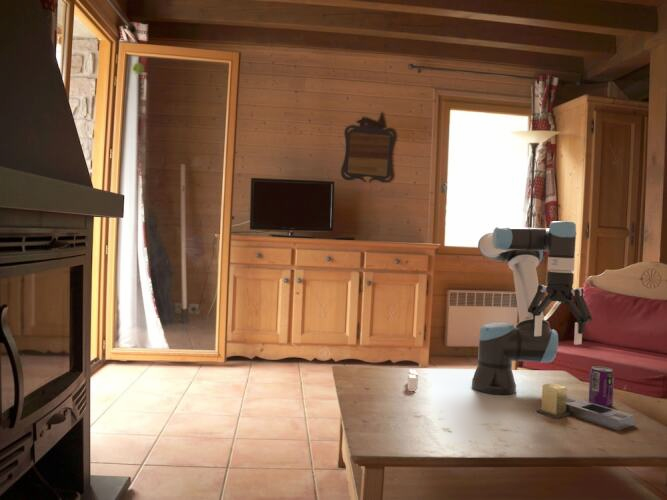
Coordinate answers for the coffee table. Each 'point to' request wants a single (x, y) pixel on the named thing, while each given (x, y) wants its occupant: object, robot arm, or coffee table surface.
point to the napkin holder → (412, 380)
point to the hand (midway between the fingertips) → (557, 340)
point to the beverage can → (601, 386)
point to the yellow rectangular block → (554, 399)
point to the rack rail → (599, 414)
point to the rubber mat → (554, 415)
